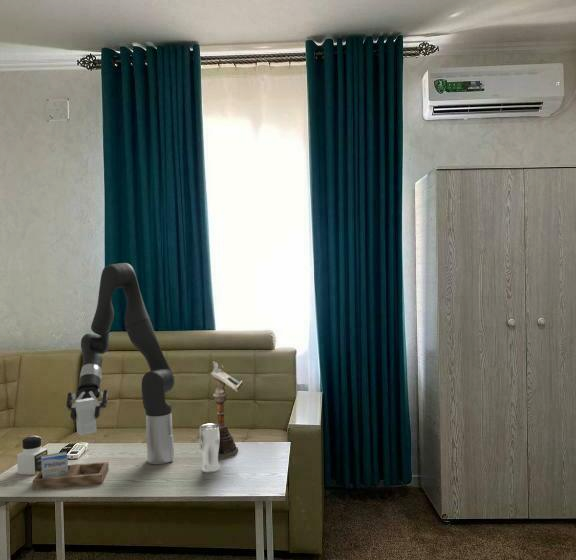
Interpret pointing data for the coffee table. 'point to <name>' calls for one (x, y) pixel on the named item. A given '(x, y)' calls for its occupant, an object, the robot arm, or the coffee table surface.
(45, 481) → the walnut pocket rack
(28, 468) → the medicine bottle
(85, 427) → the skincare box
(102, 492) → the coffee table surface
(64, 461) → the medicine box
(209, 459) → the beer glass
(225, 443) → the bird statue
